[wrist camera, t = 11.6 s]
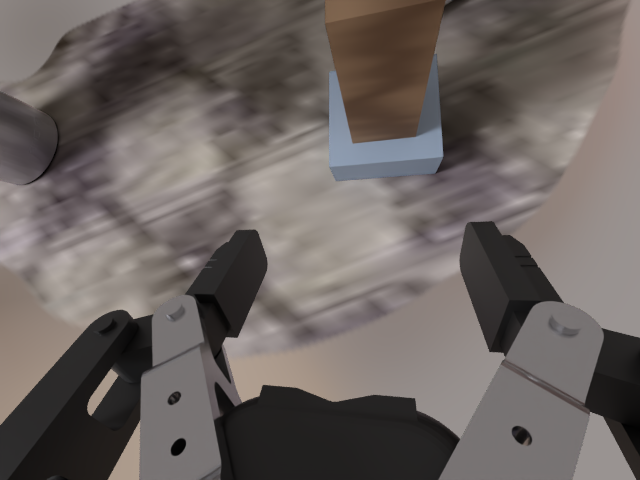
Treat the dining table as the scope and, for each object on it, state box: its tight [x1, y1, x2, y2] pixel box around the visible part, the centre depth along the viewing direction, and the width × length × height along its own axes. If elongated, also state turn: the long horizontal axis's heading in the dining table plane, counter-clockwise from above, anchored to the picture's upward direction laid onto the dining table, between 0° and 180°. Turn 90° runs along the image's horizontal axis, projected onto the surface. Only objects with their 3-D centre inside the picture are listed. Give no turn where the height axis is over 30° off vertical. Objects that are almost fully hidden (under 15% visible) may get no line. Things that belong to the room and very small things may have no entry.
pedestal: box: [329, 54, 443, 181], centre depth 22 cm, size 8×8×3 cm
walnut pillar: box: [325, 0, 446, 144], centre depth 16 cm, size 4×4×10 cm
